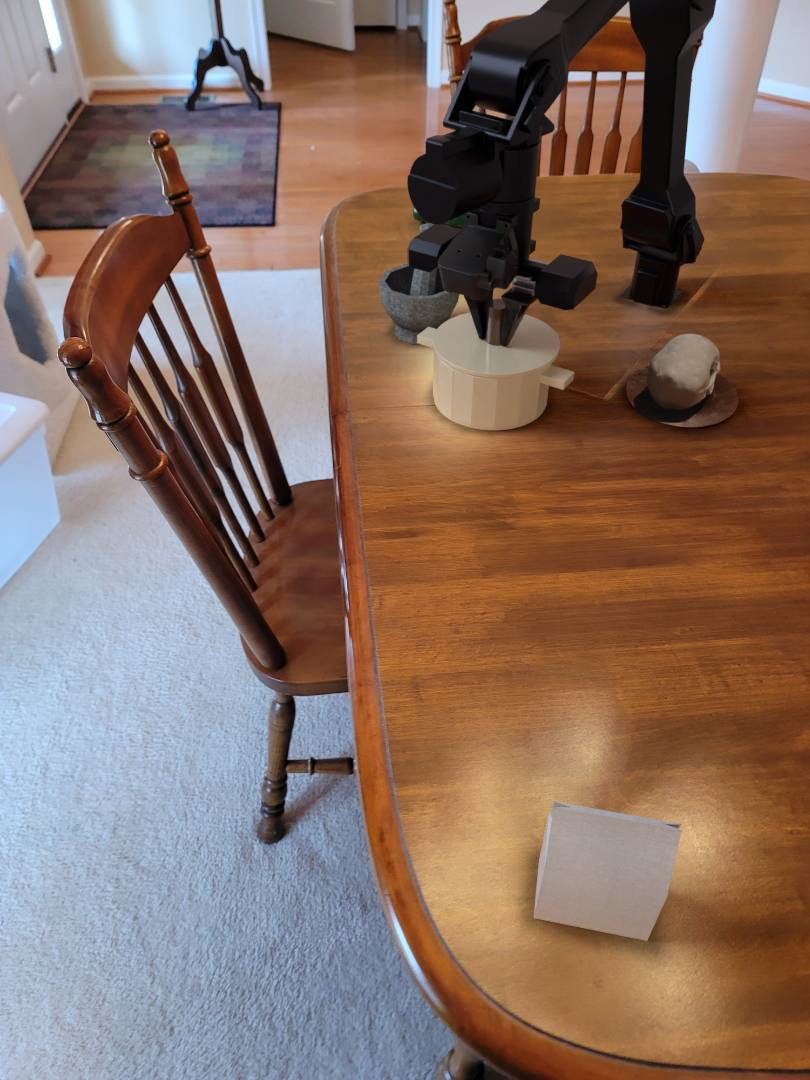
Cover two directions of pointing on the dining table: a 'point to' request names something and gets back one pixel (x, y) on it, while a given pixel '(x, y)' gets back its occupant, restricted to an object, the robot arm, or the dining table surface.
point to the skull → (684, 385)
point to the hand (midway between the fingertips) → (494, 341)
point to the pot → (491, 394)
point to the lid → (496, 345)
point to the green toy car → (452, 223)
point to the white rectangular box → (605, 870)
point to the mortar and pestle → (415, 299)
